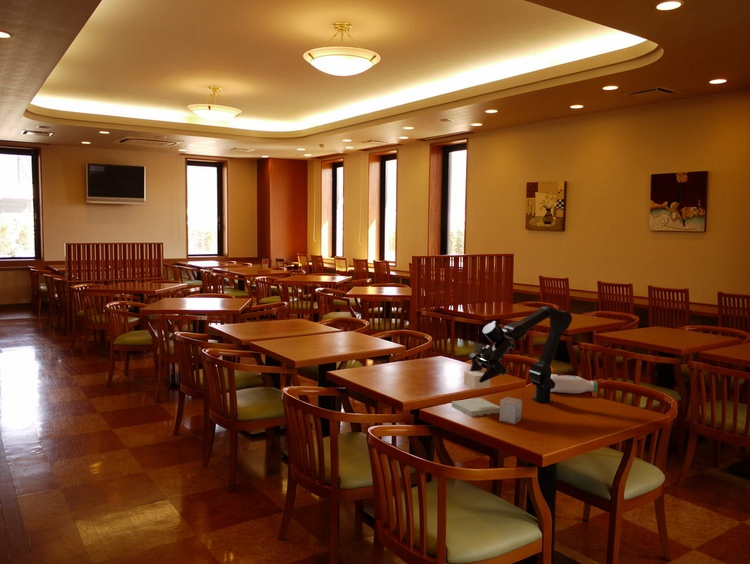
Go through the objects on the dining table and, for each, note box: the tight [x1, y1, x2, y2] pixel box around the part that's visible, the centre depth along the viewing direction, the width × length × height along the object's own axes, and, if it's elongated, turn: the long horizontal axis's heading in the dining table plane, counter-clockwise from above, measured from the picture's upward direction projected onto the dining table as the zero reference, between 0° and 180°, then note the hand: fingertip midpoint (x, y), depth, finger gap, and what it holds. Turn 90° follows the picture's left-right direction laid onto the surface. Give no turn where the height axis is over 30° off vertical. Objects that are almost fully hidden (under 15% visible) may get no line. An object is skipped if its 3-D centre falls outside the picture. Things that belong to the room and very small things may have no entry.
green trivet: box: [451, 397, 500, 417], centre depth 242 cm, size 14×14×2 cm
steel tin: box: [498, 396, 523, 425], centre depth 228 cm, size 6×6×8 cm
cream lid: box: [463, 370, 492, 390], centre depth 241 cm, size 7×7×5 cm
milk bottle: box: [550, 374, 599, 395], centre depth 269 cm, size 8×8×20 cm
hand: (474, 379), depth 240 cm, fingers closed on cream lid, 7 cm apart
